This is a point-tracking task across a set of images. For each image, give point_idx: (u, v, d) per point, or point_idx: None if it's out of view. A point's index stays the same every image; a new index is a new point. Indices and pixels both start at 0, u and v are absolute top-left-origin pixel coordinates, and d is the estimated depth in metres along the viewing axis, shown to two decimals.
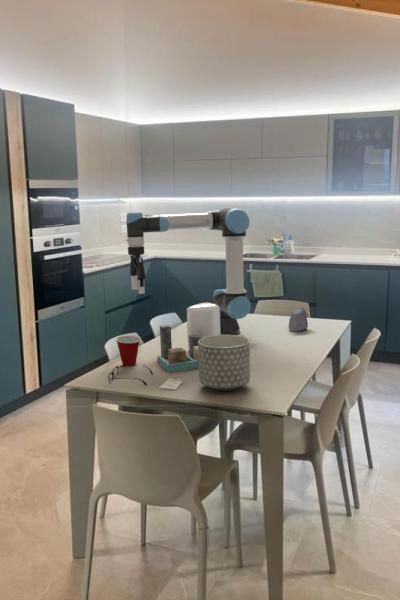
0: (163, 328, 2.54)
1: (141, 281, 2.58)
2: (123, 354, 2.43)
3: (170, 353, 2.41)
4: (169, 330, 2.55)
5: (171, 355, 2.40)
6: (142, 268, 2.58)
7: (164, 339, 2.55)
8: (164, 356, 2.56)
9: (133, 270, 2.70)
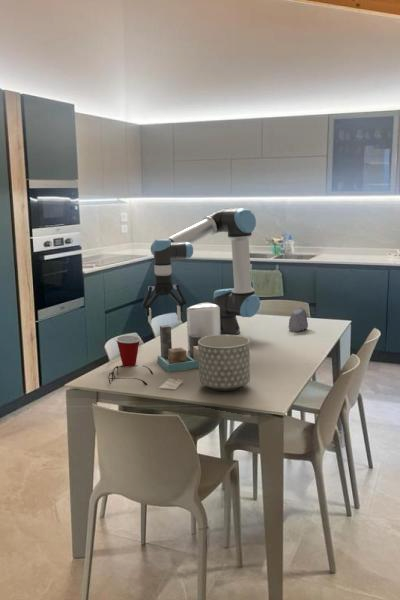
0: (163, 328, 2.54)
1: None
2: (123, 354, 2.43)
3: (170, 353, 2.41)
4: (169, 330, 2.55)
5: (171, 355, 2.40)
6: (146, 297, 2.50)
7: (164, 339, 2.55)
8: (164, 356, 2.56)
9: (174, 299, 2.56)
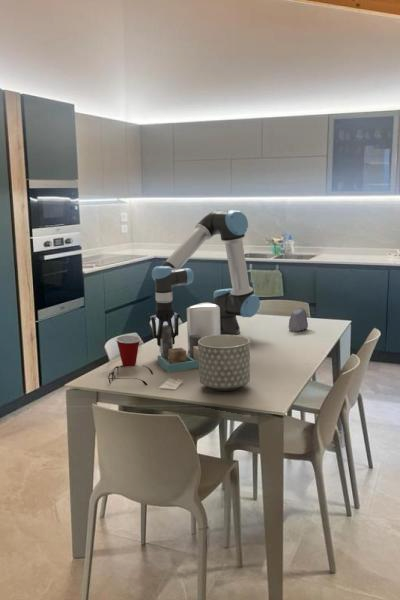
0: (163, 328, 2.54)
1: (157, 340, 2.56)
2: (123, 354, 2.43)
3: (170, 353, 2.41)
4: (169, 330, 2.55)
5: (171, 355, 2.40)
6: (153, 328, 2.54)
7: (164, 339, 2.55)
8: (164, 356, 2.56)
9: None
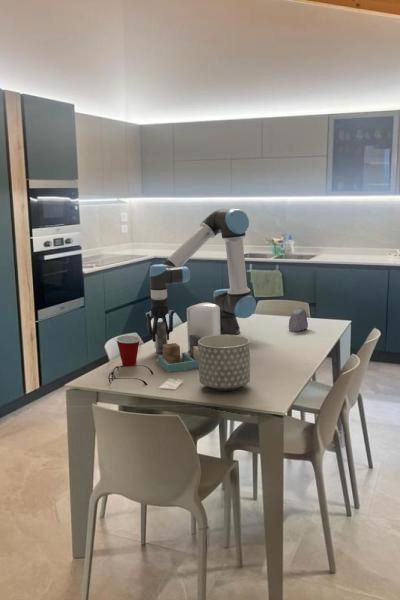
0: (158, 324, 2.62)
1: (152, 336, 2.64)
2: (123, 354, 2.43)
3: (164, 348, 2.49)
4: (164, 326, 2.63)
5: (165, 350, 2.48)
6: (148, 324, 2.62)
7: (159, 335, 2.63)
8: (159, 351, 2.64)
9: None
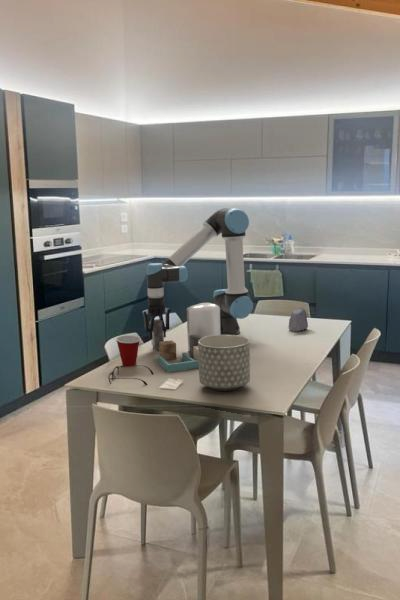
0: (155, 322, 2.67)
1: (149, 333, 2.69)
2: (123, 354, 2.43)
3: (161, 346, 2.54)
4: (160, 324, 2.68)
5: (162, 347, 2.53)
6: (145, 322, 2.67)
7: (156, 332, 2.68)
8: (156, 349, 2.69)
9: None
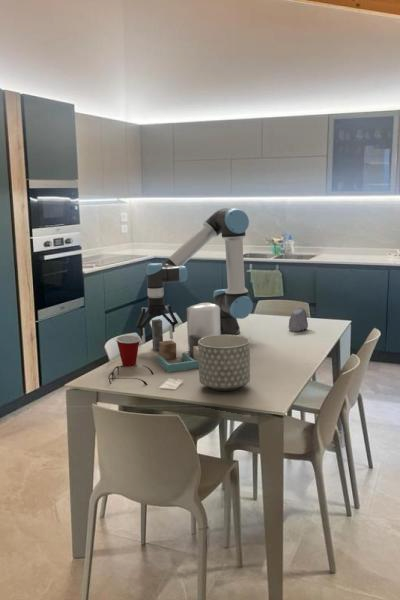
0: (155, 322, 2.67)
1: None
2: (123, 354, 2.43)
3: (161, 345, 2.54)
4: (160, 324, 2.68)
5: (162, 347, 2.53)
6: (139, 318, 2.66)
7: (156, 332, 2.68)
8: (156, 349, 2.69)
9: (166, 319, 2.71)
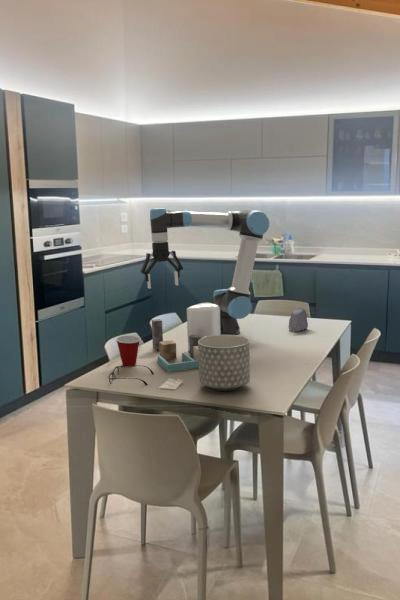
0: (155, 322, 2.67)
1: (145, 276, 2.66)
2: (123, 354, 2.43)
3: (161, 345, 2.54)
4: (160, 324, 2.68)
5: (162, 347, 2.53)
6: (144, 263, 2.64)
7: (156, 332, 2.68)
8: (156, 349, 2.69)
9: (171, 265, 2.70)
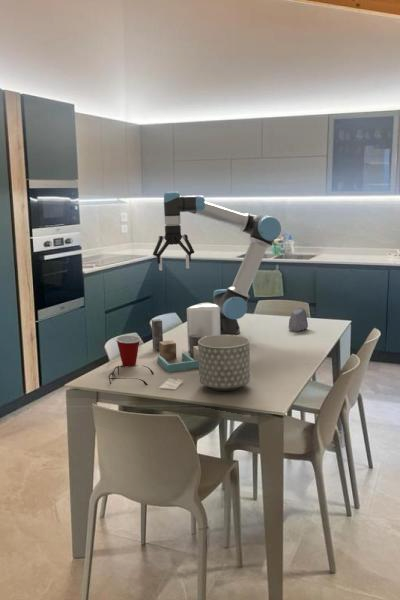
0: (155, 322, 2.67)
1: (157, 258, 2.71)
2: (123, 354, 2.43)
3: (161, 345, 2.54)
4: (160, 324, 2.68)
5: (162, 347, 2.53)
6: (157, 246, 2.70)
7: (156, 332, 2.68)
8: (156, 349, 2.69)
9: (183, 249, 2.76)
